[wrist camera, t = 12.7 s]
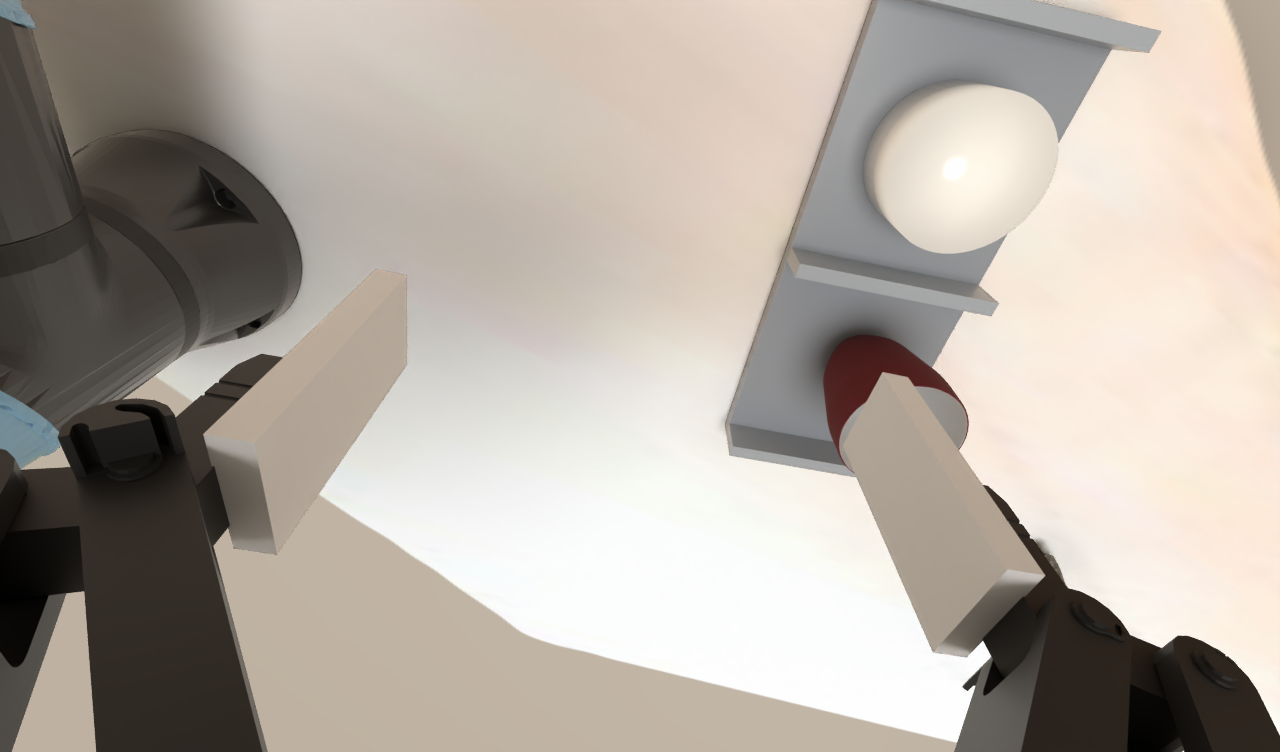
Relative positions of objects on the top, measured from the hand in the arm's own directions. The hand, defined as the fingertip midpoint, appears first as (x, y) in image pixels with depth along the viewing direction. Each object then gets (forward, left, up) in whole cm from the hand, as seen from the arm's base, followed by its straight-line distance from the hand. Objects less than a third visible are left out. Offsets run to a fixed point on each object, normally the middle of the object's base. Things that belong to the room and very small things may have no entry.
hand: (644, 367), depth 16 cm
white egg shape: (+17, +4, -25) cm, 31 cm away
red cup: (+19, -12, -26) cm, 34 cm away
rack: (+17, -4, -27) cm, 32 cm away
